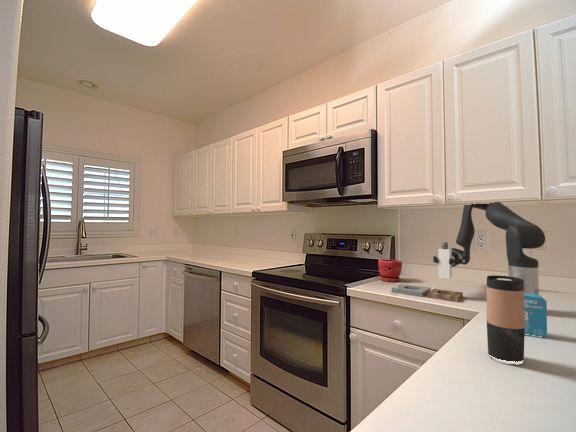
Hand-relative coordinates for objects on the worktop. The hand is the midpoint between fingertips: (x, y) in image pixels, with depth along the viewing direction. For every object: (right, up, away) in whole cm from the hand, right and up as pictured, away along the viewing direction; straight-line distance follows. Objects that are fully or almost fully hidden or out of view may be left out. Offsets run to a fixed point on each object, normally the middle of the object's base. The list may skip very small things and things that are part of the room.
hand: (443, 261), depth 132 cm
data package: (+2, -16, -41) cm, 44 cm away
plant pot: (-10, -18, +41) cm, 45 cm away
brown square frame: (+2, -17, +2) cm, 17 cm away
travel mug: (-16, -15, -59) cm, 63 cm away
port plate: (-10, -17, +12) cm, 23 cm away
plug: (+2, -8, +2) cm, 8 cm away
